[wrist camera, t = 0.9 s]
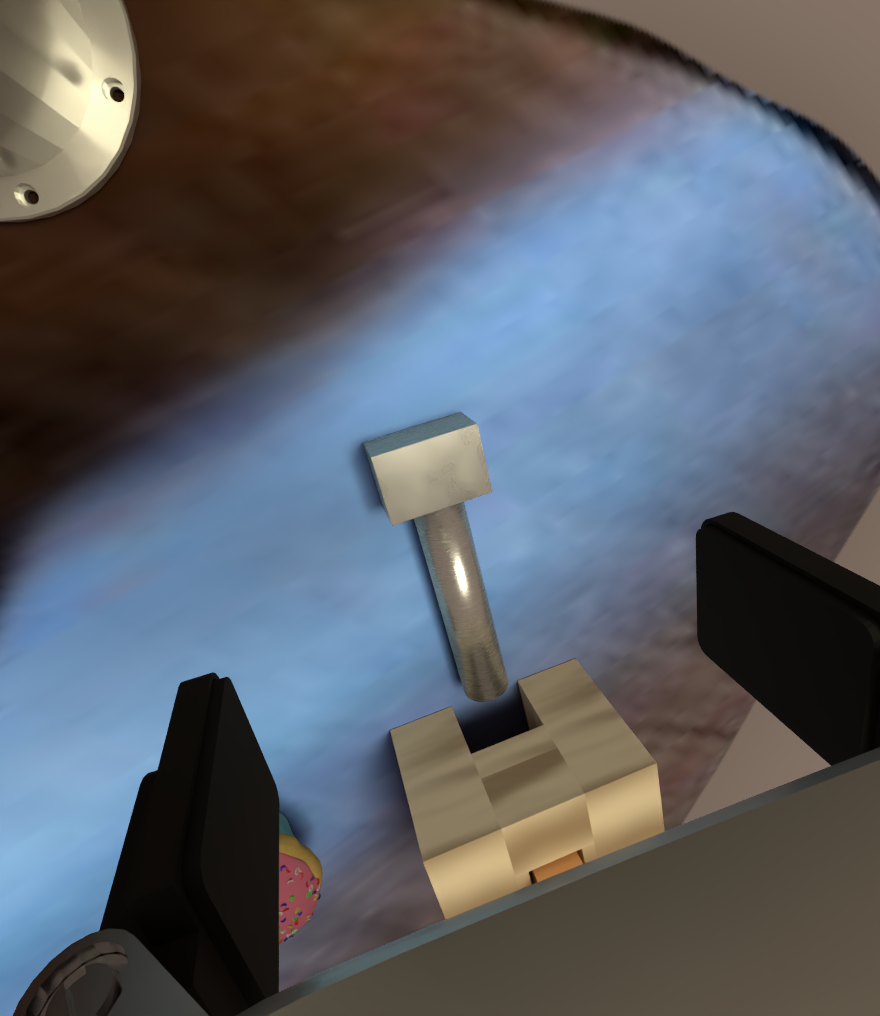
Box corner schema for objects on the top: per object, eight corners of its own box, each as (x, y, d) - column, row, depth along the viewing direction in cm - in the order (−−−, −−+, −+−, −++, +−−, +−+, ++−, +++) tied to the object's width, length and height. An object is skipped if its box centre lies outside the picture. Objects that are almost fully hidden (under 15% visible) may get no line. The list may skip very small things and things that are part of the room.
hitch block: (390, 730, 40) (423, 861, 31) (575, 658, 42) (656, 763, 33) (419, 807, 43) (456, 946, 34) (589, 738, 45) (666, 852, 36)
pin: (362, 442, 32) (370, 457, 30) (460, 411, 33) (476, 423, 31) (439, 686, 40) (451, 716, 37) (517, 656, 41) (534, 683, 38)
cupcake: (216, 892, 41) (195, 1110, 31) (165, 813, 38) (121, 1028, 27) (332, 845, 43) (352, 1038, 32) (293, 764, 39) (301, 950, 28)
